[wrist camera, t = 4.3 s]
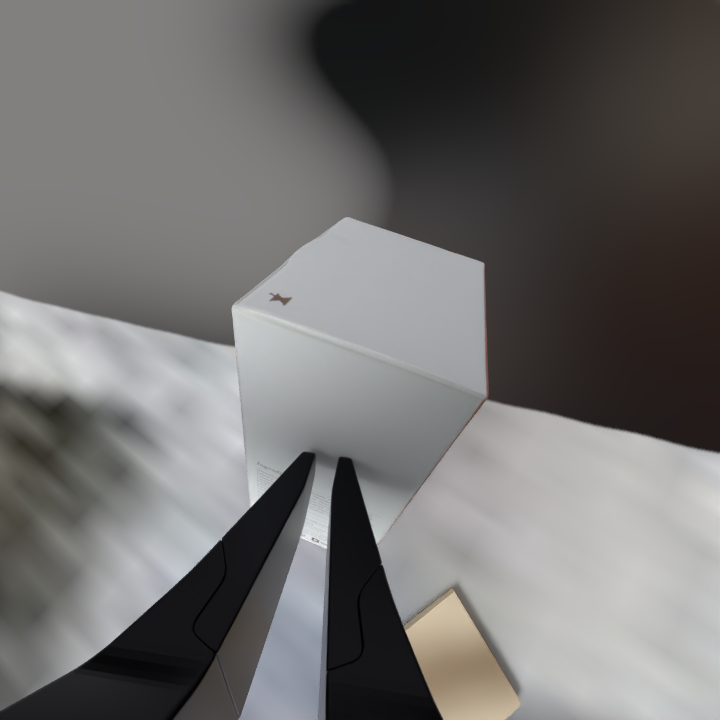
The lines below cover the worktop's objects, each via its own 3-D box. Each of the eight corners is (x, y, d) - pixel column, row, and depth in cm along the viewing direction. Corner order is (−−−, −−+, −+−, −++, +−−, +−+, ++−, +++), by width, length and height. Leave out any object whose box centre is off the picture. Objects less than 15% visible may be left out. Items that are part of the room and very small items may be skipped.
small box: (364, 568, 15) (495, 402, 6) (247, 518, 16) (219, 302, 7) (397, 437, 21) (488, 259, 12) (312, 404, 22) (341, 212, 13)
